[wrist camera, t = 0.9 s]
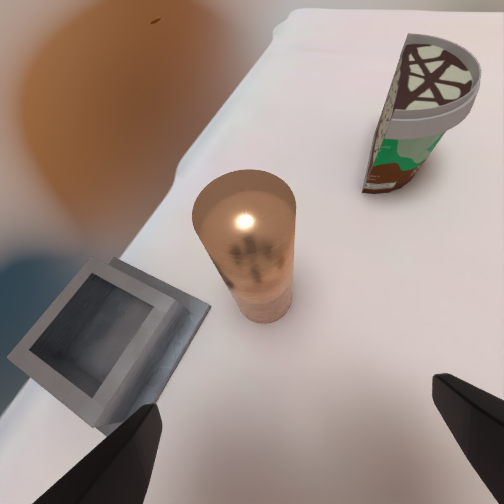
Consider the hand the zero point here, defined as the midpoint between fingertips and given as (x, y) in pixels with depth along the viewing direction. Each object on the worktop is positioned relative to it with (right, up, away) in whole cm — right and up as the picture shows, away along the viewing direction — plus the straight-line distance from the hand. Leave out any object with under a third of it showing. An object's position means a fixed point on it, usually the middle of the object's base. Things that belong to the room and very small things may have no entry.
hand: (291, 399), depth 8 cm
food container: (+15, +14, +21) cm, 29 cm away
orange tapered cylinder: (0, +1, +15) cm, 15 cm away
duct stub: (-13, -3, +15) cm, 20 cm away
